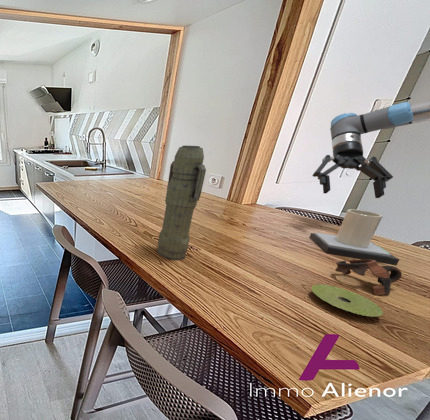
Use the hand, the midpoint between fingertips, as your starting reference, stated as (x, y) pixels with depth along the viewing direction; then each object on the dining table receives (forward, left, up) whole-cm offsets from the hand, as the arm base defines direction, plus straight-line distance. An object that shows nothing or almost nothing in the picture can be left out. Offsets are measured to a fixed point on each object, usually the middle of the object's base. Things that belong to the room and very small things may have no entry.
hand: (352, 194), depth 89 cm
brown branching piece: (+7, +38, -18) cm, 42 cm away
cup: (0, +11, -15) cm, 19 cm away
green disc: (+17, +52, -18) cm, 58 cm away
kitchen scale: (0, +11, -18) cm, 21 cm away
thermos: (+55, +44, -18) cm, 73 cm away
